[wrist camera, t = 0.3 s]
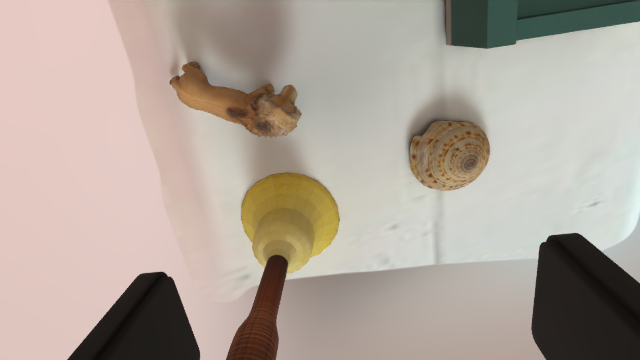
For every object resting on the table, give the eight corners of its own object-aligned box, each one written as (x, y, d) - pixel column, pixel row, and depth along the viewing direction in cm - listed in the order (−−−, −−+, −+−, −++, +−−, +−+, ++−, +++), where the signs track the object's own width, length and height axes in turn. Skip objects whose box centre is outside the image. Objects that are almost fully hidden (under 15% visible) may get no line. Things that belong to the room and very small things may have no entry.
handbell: (263, 269, 47) (187, 500, 23) (224, 189, 42) (85, 373, 19) (352, 247, 44) (364, 475, 21) (320, 159, 40) (294, 327, 17)
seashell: (422, 110, 35) (504, 138, 33) (430, 106, 40) (502, 130, 38) (394, 182, 38) (467, 212, 36) (405, 171, 43) (470, 196, 41)
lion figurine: (310, 78, 37) (301, 91, 28) (303, 127, 39) (294, 152, 31) (171, 57, 37) (122, 63, 28) (172, 107, 39) (127, 127, 30)
